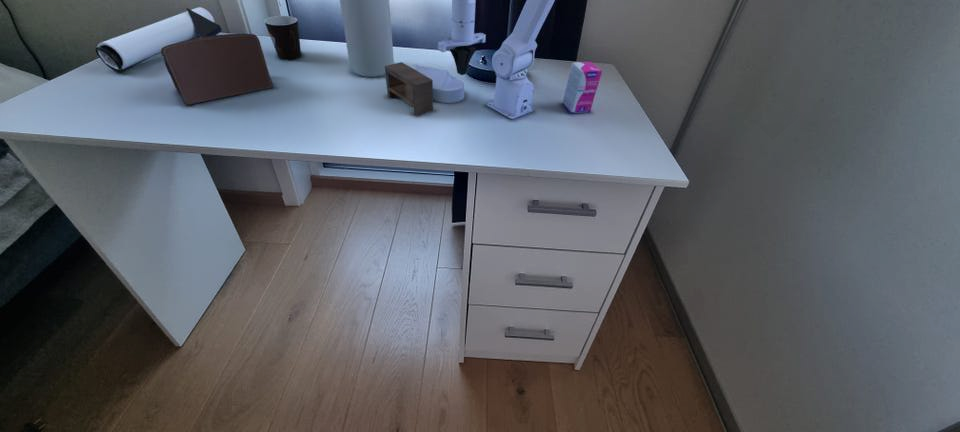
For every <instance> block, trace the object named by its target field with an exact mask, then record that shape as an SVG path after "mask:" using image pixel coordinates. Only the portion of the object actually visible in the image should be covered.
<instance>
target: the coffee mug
mask: <svg viewBox="0 0 960 432" xmlns="http://www.w3.org/2000/svg"><path fill="white" fill-rule="evenodd" d="M263 22H264V25H265V26H266V29H267V32H268V34H269V37H270V40H271V42H272V44H273V47H274V50H275V52H276V55H277V58H278V59H280V60H282V61H295V60H297V59H300V58H301V57H302V50H301V41H300V40H301V39H300V32H299V31H300V30H299V23H298V18H296V17H294V16H290V15H275V16H270V17H267V18H265V19H264V20H263Z"/></svg>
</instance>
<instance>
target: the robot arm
mask: <svg viewBox="0 0 960 432" xmlns="http://www.w3.org/2000/svg"><path fill="white" fill-rule="evenodd" d="M555 1H556V0H526V1H525V3H524V5H523V8H522V10H521V12H520V15H519V17H518V18H517V21H516V23H515V26H514V28H513V31H512V32H511V33H510V35H509V36H508V37H506V38H505V40H504V41H503V42H502V43H501V46H500V47H499V49H497V50H496V51H495V52H494V53H493V55H492V58H491V65H492V68H493V71H494V72H495V76H496V78H495V88H494V89H495V90H494V99H493V100H492V101H490V102H487V103H486V106H487V107H489V108H490V109H493V110H494V111H495V112H498V114H499V113H500V114H501V115H503V116H505V117H506V118H508V119H510V120H515V119H518V118H519V117H522V116H524V115H527V114H530V113H532V112H533V111H534V109H533V108H532V105H533V99H534V94H535V85H534V84H533V82H531V81H530V80H529V78H528V77H527V74H528V71H529V68H530V67H531V66H532V65H533V63H534V61H535V54H536V53H535V52H536V49H537V47H538V44H537V42H536V39H537V37H538V35H539V33H540V30H541V29H542V27H543V25H544V24H545V21H546V20H547V17H548V15H549V13H550V12H551V9H552V7H553V5H554V3H555ZM476 2H477V1H476V0H451V34H449V35H450V36H449V37H447V38H446V39H444V40H441V41H438V42H437V51H438V52H441V53H446V52H447V51H450V53H451V56H452V58H453V61H454V64H455V69H456V73H457V74H458V75H460V76H464V75H466V74H467V71H468V67H469V65H470V63H471V59H472V57H473V56H474V54H475V53H476V47H475V46H474V45H476V44H479V43H482V44H485V43H486V38H487V37H486V36H487V35H486V34H485V33H483V32H477V33H476V32H475V23H476V22H475V21H476Z"/></svg>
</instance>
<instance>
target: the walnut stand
mask: <svg viewBox="0 0 960 432" xmlns="http://www.w3.org/2000/svg"><path fill="white" fill-rule="evenodd" d="M385 73H386V75H385V82H386V83H385V84H386V92H387V93H386V94H387V97H388V98H389V99H393V98H395V97H399V98H400V99H401V100H403V101H405V102H406V103H408V104H409V105H411V106H412V108H413V115H414V116H416V117H419V116H422V115H424V114H427V113H430V112H433V111H434V99H433V80H432V79H430V78H428V77H427V76H425V75H423V74H422V73H420V72H418V71H416V70H415V68H413V67H411V66H410V65H408V64H406V63H404V62H396V63H394V64H392V65H387V66H385Z"/></svg>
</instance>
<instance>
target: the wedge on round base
mask: <svg viewBox="0 0 960 432" xmlns="http://www.w3.org/2000/svg"><path fill="white" fill-rule="evenodd" d="M414 69H415V70H416V71H418V72H420V73H422V74H423V75H425V76H427V77H428V78H430V79H432V80H433V101H436V102H439V103H444V104H454V103H458V102H460V101H462V100H463V99H464V98H465V82H464V81H463V79H460V78H458V77H455V76H453V75H452V74H451V73H450V72H449V71H448V70H447V69H441V68H435V67H430V66H429V67H428V66H424V65H419V64H416V66H415V68H414Z"/></svg>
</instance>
